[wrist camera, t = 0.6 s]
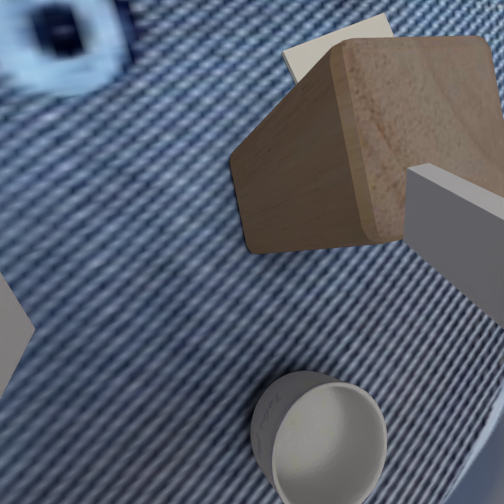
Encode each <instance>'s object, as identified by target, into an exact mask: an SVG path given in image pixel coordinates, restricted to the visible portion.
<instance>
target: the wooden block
mask: <svg viewBox="0 0 504 504" xmlns="http://www.w3.org/2000/svg"><path fill="white" fill-rule="evenodd" d="M427 163H431V164H433V165H435V166H437V167H439V168H441V169H443V170H445V171H448V172H450V173H452V174H454V175H456V176H458V177H460V178H462V179H465V180H467V181H469V182H471V183H473V184H475V185H477V186H479V187H482V188H484V189H486V190H488V191H490V192H492V193H494V194H496V195H499V196H501V197H503V198H504V120H503V115H502V109H501V104H500V98H499V93H498V87H497V82H496V76H495V71H494V65H493V60H492V54H491V49H490V47H489V45H488V44H487V42H486V41H485V39H483V38H482V37H480V36H434V37H383V38H351V39H347V40H343V41H341V42H340V43H338V44H336V45H334V46H333V47H331V48H330V49H329V50H328V52H327V53H326V54H325V55H324V56H323V57H322V58H321V59H320V60H319V61H318V62H317V63H316V64H315V65H314V66H313V67H312V69H311V70H310V71H309V72H308V73H307V74H306V75H305V76H304V77H303V78H302V79H301V80H300V81H299V82H298V83H297V84H296V86H295V87H294V88H293V89H292V90H291V91H290V92H289V93H288V94H287V95H286V96H285V97H284V98H283V99H282V100H281V102H280V103H279V104H278V105H277V106H276V107H275V108H274V109H273V110H272V111H271V112H270V113H269V114H268V115H267V116H266V117H265V119H264V120H263V121H262V122H261V123H260V124H259V125H258V126H257V127H256V128H255V129H254V130H253V131H252V132H251V133H250V134H249V136H248V137H247V138H246V139H245V140H244V141H243V142H242V143H241V144H240V145H239V146H238V147H237V148H236V149H235V150H234V152H233V153H232V154H231V157H230V167H231V172H232V176H233V181H234V186H235V191H236V196H237V201H238V206H239V210H240V215H241V220H242V225H243V230H244V235H245V240H246V244H247V247H248V249H249V250H250V252H251V253H255V254H267V253H279V252H291V251H303V250H315V249H327V248H339V247H351V246H363V245H374V244H384V243H388V242H392V241H396V240H401V239H403V237H404V217H405V197H406V177H407V168H409V167H413V166H418V165H422V164H427Z"/></svg>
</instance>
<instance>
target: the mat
mask: <svg viewBox="0 0 504 504" xmlns="http://www.w3.org/2000/svg"><path fill="white" fill-rule="evenodd" d="M383 37H394V35H393V33H392V30H391V28H390V26H389V23H388V21H387V19H386V16H385V14H384V13H382V14H380V15H377V16H374V17H372V18H369V19H366V20H364V21H361V22H358V23H356V24H353V25H351V26H348V27H345V28H343V29H340V30H337V31H335V32H332V33H329V34H327V35H324V36H321V37H319V38H316V39H313V40H311V41H308V42H306V43H303V44H300V45H298V46H295V47H292V48H290V49H287V50H284V51H283V52H282V53H281V54H282V57H283V59H284V61H285V63H286V65H287V67H288V69H289V72H290V74H291V76H292V78H293V80H294V82H295V84H297V83H298V82H299V81H300V80H301V79H302V78H303V77H304V76H305V75H306V74H307V73H308V72H309V71H310V70H311V69H312V67H313V66H314V65H315V64H316V63H317V62H318V61H319V60H320V59H321V58H322V57H323V56H324V55H325V54H326V53H327V52H328V50H329V49H330V48H331V47H333V46H334V45H336V44H338V43H340V42H341V41H343V40H347V39H351V38H383Z"/></svg>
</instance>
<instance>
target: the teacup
mask: <svg viewBox="0 0 504 504" xmlns="http://www.w3.org/2000/svg"><path fill="white" fill-rule="evenodd" d="M250 436H251V444H252V449H253V453H254V456H255V459H256V461H257V463H258V465H259V467H260V469H261V470H262V472H263V473H264V475H265V477H266V478H267V479H268V481H269V482H270V483H271V485H272V486H273V487H274V489H275V490H276V491H277V493H278V495H279V497H280V499H281V500H282V502H283V503H284V504H361V503H362V502H363V501H364V500H365V499H366V497H367V496H368V495H369V494H370V493H371V491H372V490H373V489H374V487H375V486H376V484H377V482H378V480H379V477H380V475H381V472H382V469H383V466H384V462H385V459H386V452H387V431H386V425H385V421H384V418H383V415H382V413H381V410H380V408H379V406H378V405H377V403H376V402H375V401H374V399H373V398H372V397H371V396H370V395H369V394H368V393H367V392H366V391H364V390H363V389H362V388H360V387H358V386H356V385H354V384H351V383H347V382H343V381H340V380H338V379H336V378H333V377H331V376H328V375H325V374H322V373H319V372H314V371H297V372H293V373H289V374H287V375H284V376H282V377H281V378H279V379H278V380H276V381H275V382H273V383H272V384H271V385H270V386H269V387H268V388H267V389H266V390H265V392H264V393H263V394H262V396H261V397H260V399H259V401H258V403H257V405H256V407H255V410H254V413H253V416H252V421H251V430H250Z"/></svg>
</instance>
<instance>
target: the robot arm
mask: <svg viewBox="0 0 504 504" xmlns="http://www.w3.org/2000/svg"><path fill="white" fill-rule="evenodd" d="M403 242H404V243H406V244H407V245H408V246H409V247H410V248H411V249H412V250H414V251H415V252H416V253H417V254H418V255H419V256H420V257H422V258H423V259H424V260H425V261H426V262H427V263H428V264H430V265H431V266H432V267H433V268H434V269H435V270H436V271H438V272H439V273H440V274H441V275H442V276H443V277H444V278H446V279H447V280H448V281H449V282H450V283H451V284H452V285H454V286H455V287H456V288H457V289H458V290H459V291H460V292H462V293H463V294H464V295H465V296H466V297H467V298H468V299H470V300H471V301H472V302H473V303H474V304H475V305H477V306H478V307H479V308H480V309H481V310H482V311H483V312H485V313H486V314H487V315H488V316H489V317H490V318H491V319H493V320H494V321H495V322H496V323H497V324H498V325H499V326H501V327H502V328H503V329H504V198H503V197H501V196H499V195H496V194H494V193H492V192H490V191H488V190H486V189H484V188H482V187H479V186H477V185H475V184H473V183H471V182H469V181H467V180H465V179H462V178H460V177H458V176H456V175H454V174H452V173H450V172H448V171H445V170H443V169H441V168H439V167H437V166H435V165H433V164H431V163H427V164H422V165H418V166H413V167H409V168H407V177H406V197H405V217H404V237H403ZM34 331H35V328H34V326H33V324H32V323H31V321H30V319H29V318H28V316H27V315H26V313H25V311H24V310H23V308H22V307H21V305H20V303H19V302H18V300H17V298H16V297H15V295H14V294H13V292H12V290H11V289H10V287H9V286H8V284H7V282H6V281H5V279H4V277H3V276H2V274H1V273H0V398H1V396H2V394H3V392H4V390H5V388H6V386H7V384H8V382H9V380H10V378H11V376H12V374H13V372H14V370H15V369H16V367H17V365H18V363H19V361H20V359H21V357H22V355H23V353H24V351H25V349H26V347H27V345H28V343H29V341H30V339H31V337H32V335H33V333H34Z"/></svg>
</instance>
